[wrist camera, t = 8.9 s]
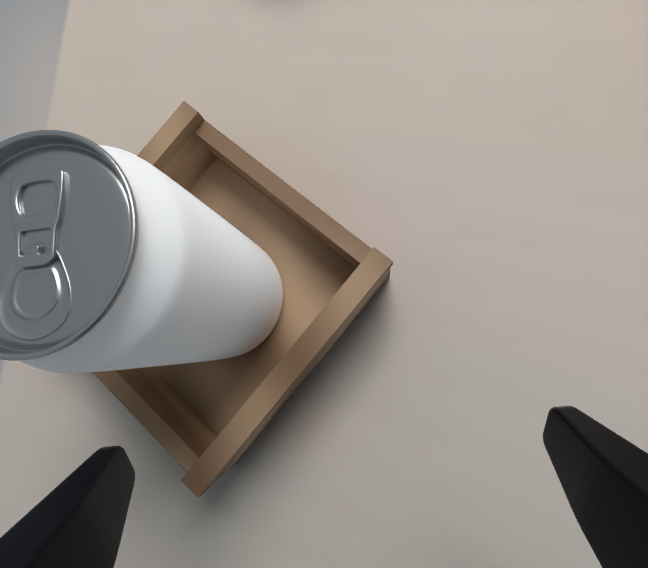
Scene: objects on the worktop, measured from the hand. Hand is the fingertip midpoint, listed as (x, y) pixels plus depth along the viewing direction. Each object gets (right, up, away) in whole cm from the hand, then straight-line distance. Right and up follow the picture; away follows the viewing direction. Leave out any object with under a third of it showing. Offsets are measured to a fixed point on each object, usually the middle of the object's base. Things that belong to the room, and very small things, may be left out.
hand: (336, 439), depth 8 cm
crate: (-6, +3, +13) cm, 15 cm away
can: (-5, +3, +13) cm, 14 cm away
